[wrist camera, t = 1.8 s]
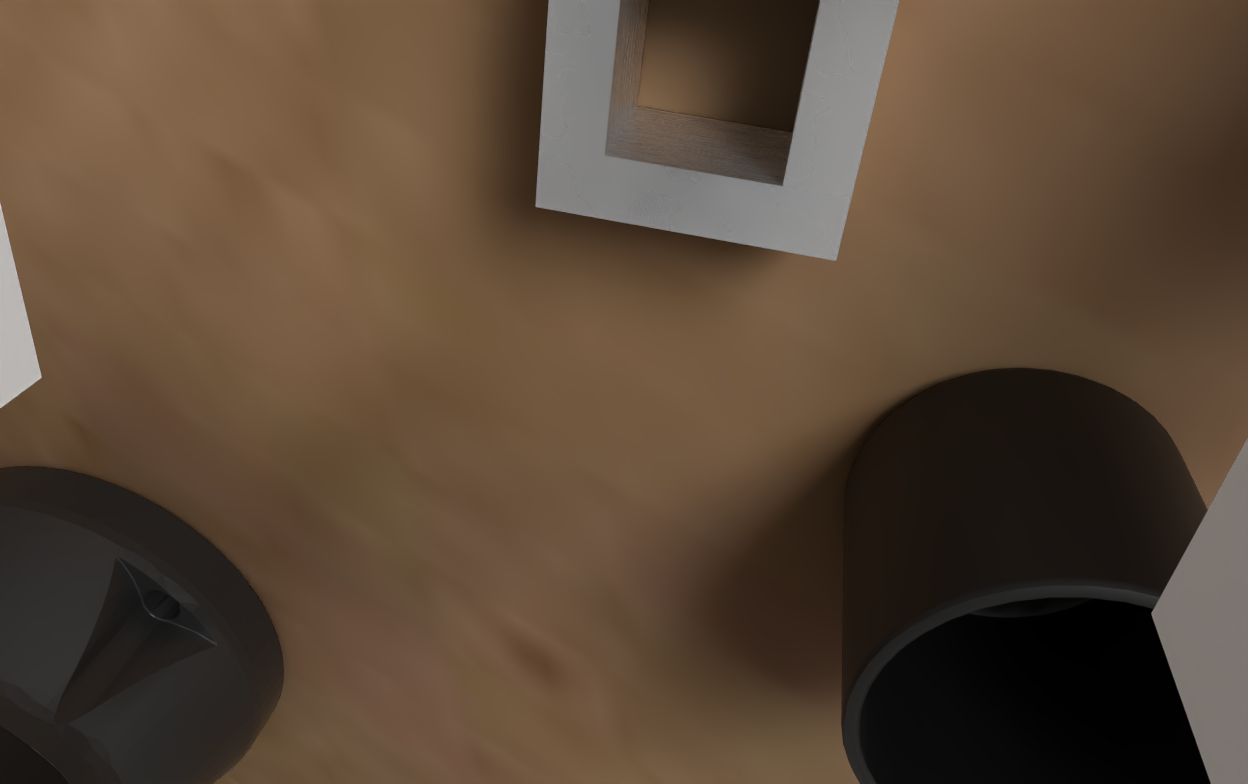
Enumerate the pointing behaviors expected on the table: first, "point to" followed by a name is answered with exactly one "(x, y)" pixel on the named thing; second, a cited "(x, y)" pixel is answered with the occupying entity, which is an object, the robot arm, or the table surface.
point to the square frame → (706, 134)
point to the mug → (1015, 588)
